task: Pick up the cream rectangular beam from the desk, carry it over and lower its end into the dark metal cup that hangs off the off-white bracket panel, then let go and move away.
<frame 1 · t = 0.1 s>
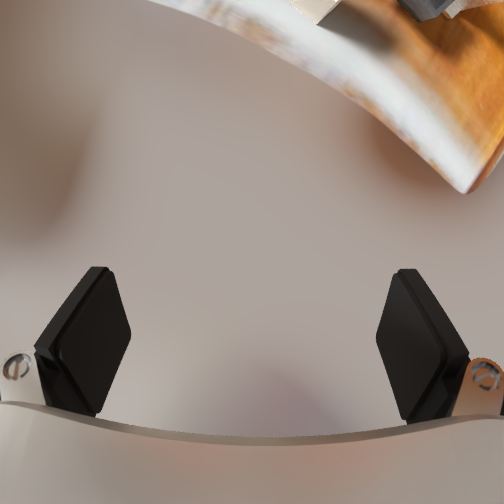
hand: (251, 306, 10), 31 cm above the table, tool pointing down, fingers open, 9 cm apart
cream rectangular beam: (313, 4, 28), on the table
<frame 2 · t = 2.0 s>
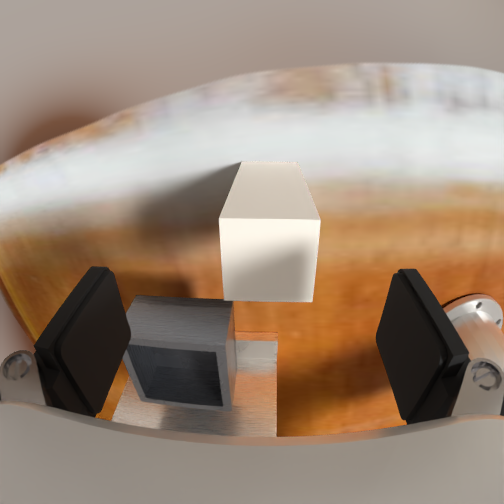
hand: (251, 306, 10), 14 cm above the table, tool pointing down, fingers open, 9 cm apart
cream rectangular beam: (269, 187, 23), on the table
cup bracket: (200, 297, 28), on the table
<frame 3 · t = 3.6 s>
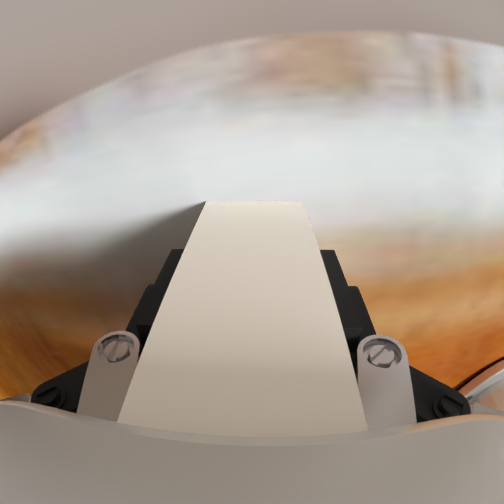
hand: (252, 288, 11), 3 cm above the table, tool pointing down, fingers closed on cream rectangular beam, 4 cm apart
cream rectangular beam: (255, 243, 14), on the table, touching gripper
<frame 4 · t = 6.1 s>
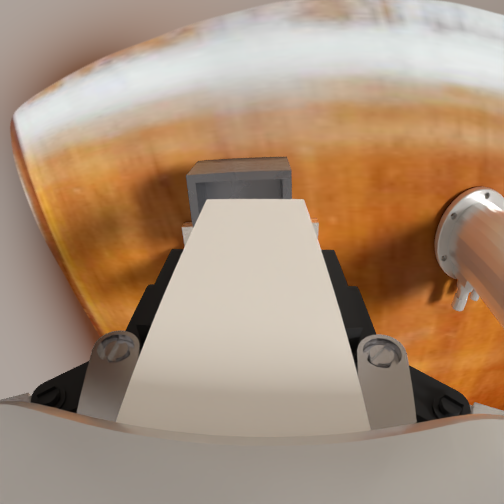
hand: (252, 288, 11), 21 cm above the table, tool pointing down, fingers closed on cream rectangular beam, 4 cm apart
cream rectangular beam: (255, 242, 14), point 18 cm above the table, touching gripper
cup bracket: (247, 182, 31), on the table
when the fingers open (11 cm above the table, at t = 8.6 s): cream rectangular beam drops 1 cm, resting on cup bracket.
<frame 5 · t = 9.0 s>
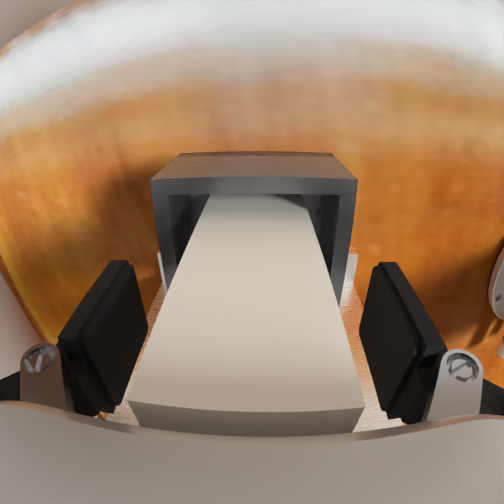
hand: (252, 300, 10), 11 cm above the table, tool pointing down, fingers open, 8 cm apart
cream rectangular beam: (256, 229, 15), point 6 cm above the table, touching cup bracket
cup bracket: (257, 190, 20), on the table
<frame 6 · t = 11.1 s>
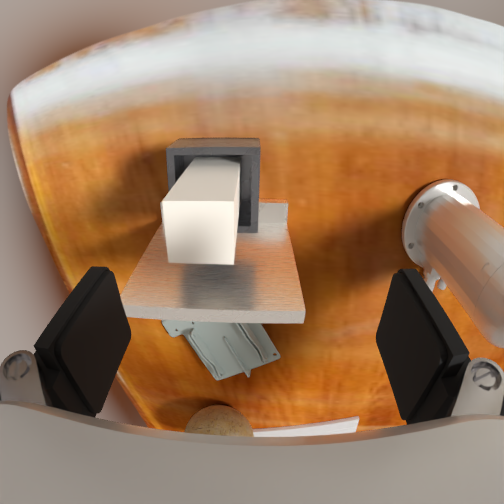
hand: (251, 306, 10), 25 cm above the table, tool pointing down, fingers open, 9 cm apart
metal bracket: (227, 327, 45), on the table
baseboard: (288, 434, 63), on the table
cream rectangular beam: (218, 178, 27), point 6 cm above the table, touching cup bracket
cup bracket: (223, 163, 33), on the table
fossilized egg: (221, 408, 56), on the table
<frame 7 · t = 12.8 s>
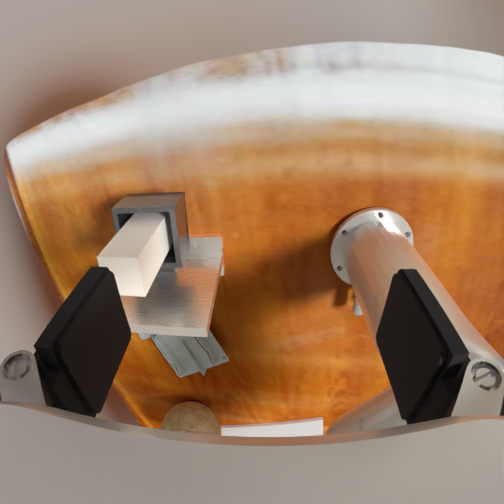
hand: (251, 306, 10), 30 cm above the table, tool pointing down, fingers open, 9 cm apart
metal bracket: (187, 333, 53), on the table
baseboard: (260, 431, 70), on the table
cream rectangular beam: (156, 225, 36), point 6 cm above the table, touching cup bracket
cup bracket: (169, 206, 41), on the table
fossilized egg: (195, 405, 63), on the table
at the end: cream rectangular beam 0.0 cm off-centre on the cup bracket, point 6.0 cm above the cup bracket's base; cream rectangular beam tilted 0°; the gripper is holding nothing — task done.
